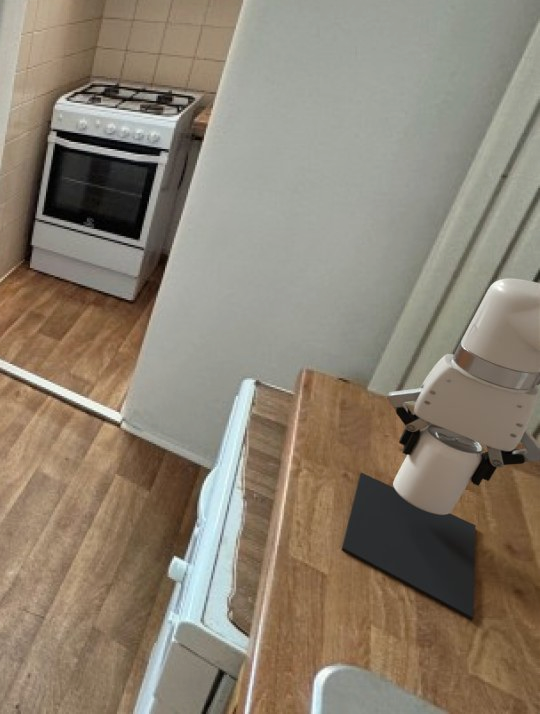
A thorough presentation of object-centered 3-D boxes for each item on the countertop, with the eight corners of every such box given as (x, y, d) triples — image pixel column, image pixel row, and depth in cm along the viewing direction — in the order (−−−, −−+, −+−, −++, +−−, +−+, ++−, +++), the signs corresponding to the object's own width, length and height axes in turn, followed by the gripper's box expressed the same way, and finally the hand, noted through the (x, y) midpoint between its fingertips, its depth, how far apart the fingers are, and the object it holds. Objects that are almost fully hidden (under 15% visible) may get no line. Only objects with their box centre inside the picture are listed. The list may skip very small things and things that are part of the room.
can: (461, 522, 87) (499, 461, 83) (405, 508, 89) (439, 447, 85) (435, 487, 93) (469, 428, 88) (383, 475, 95) (413, 416, 90)
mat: (474, 527, 90) (475, 525, 90) (471, 620, 78) (473, 617, 77) (360, 474, 99) (361, 472, 99) (341, 550, 86) (342, 547, 86)
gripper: (592, 386, 78) (527, 486, 85) (409, 326, 90) (364, 419, 97) (598, 414, 73) (529, 518, 80) (405, 347, 85) (358, 443, 92)
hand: (440, 463), depth 88 cm, fingers closed on can, 6 cm apart
